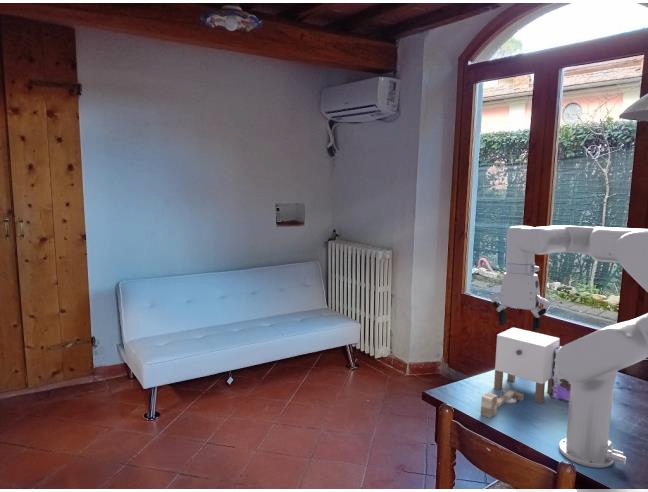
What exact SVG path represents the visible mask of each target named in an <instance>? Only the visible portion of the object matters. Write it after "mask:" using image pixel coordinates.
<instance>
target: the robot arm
mask: <svg viewBox="0 0 648 492" xmlns="http://www.w3.org/2000/svg"><path fill="white" fill-rule="evenodd" d="M505 253H506V256H505V257H506V260H505V261H506V262H505V263H506V264H505V270H506V271H505V272H504V273H503V275H502V281H501V287H500V291H498V292H496V293H493V294H491V295H490V296H489V299H490V301H491V303H492V305H493V306H494V308H495V309H496V311H497V312H498V314H497V315H498V319H497V320H498V323H499V324H498V325H499V326H503V325H506V324H507V310H505V309H506V308H512V309H520V310H527V311H530V312H531V313H532V315H533V317H532V328H531V329H532V332H537V331H539V330H540V328H541V326H542V325H541V324H542V316H543V315H545V314H546V313H547V312H548V311H549V309H550V307H551V306H552V302H550V301H549V300H548V299H546V298H544V297H542V296H541V291H540V282H539V276H538V274H537V273H536V272H540V266H537V265H536V262H535V256H536V255H538V256H540V255H548V254H549V255H550V254H556V253H571V254H581V255H588V256H590V257H591V258H592V259H593V260H594V261H598V262H605V263H615V264H620V265H621V267H622V268H623V269H624V270H625V271H626V273H627V274H628V275H630V276H631V278H633V280H635V282H637V283H638V285H640V286H641V287H642V288H643V289H644V290H645V291H646V293H648V228H631V227H630V228H629V227H608V226H581V225H580V226H578V225H561V224H559V225H558V224H557V225H548V226H547V225H546V226H536V227H534V226H531V225H530V226H529V225H514V226H513V225H512V226H509V228H507V230H506V252H505ZM498 298H499V299H500V301H498ZM541 304H542V305H543V307H542V309H540V308H539V307H540V306H541ZM647 358H648V312H647V313H645V314H642V315H640V316H638V317H636V318H633V319H632V318H631V319H630V320H625V321H622V322H621V321H620V322H618V323H614V324H611V325H608V326H607V325H606V326H605V327H602V328H600V329H597V330H595V331H594V332H590V333H589V334H587V335H584V336H582V337H579V338H577V339H575V340H573V341H570V342H569V343H565V345H563V346H561V348H560V349H559V350H558V352H557V354H556V357H555V365H556V368H557V370H558V372H559V373H560V375H561V376H563V377H564V378H565V379H567V380H569V381H571V389H570V400H569V402H568V411H567V412H568V414H567V423H566V425H567V426H566V437H565V438H563V439H561V440H560V441H559V443H558V447H559V448H558V450H559V451H560V453H561V454H562V455H563V456H564V457H565V458H566V459H568V460H570V461H571V462H573V463H575V464H579V465H582V466H585V467H590V468H595V469H596V468H598V469H601V468H603V469H604V468H607V467H610V466H612V465H613V463H614V461H615V462H617V463H618V464H621V465H626V463H627V456H625V455H624V451H621V450H620V449H619V450H618V449H615V448H614V447H612V444H613V443H612V441H611V440H609V437H610V436H609V435H610V426H611V417H612V407H613V405H612V404H613V396H614V389H615V383H616V378H617V375H618V373H619V372H618V371H621V370H624V369H625V368H628V367H631V366H633V365H635V364H637V363H639V362H641V361H644V360H645V359H647Z"/></svg>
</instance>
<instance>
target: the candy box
mask: <svg viewBox="0 0 648 492" xmlns="http://www.w3.org/2000/svg"><path fill="white" fill-rule="evenodd" d="M561 347H562V346H561V345H559V348H557V349H556V350H555V355H554V367H553V378H552V391H551V393H550V397H551V398H552V399H555V400H560V401H563V402H566V403H569V400H570V389H571V381H569V380H567V379H565V378H564V377H563V376H561V375H560V373H559V372H558V370H557V368H556V365H555V357H556V354H557V352H558V350H559V349H560V348H561Z"/></svg>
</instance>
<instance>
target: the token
mask: <svg viewBox="0 0 648 492" xmlns="http://www.w3.org/2000/svg"><path fill="white" fill-rule="evenodd" d="M502 395H504V393H502V394H500V397H501V396H502ZM517 401H518V400H517V397H516V396H512V397H511V398H509V399H508V400H506V401H505V402H503V403H505V404H510V405H514V404H516V403H517Z"/></svg>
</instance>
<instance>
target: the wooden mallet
mask: <svg viewBox="0 0 648 492" xmlns="http://www.w3.org/2000/svg"><path fill="white" fill-rule="evenodd" d="M503 391H504V392H503V394H504V395H502V394H501V395H502V396H501V395H500V396H501V397H498V395H497V394H494V393H492V392H486V393H484V394H483V395H482V396H481V403H480V404H481V406H480V416H482V417H486V418H489V419H491V418H493V417H494V416H496V415H497V410H498V409H497V408H498V407H499V406H500V405H502V404H503V403H504V402H505V401H506V400H508V399H509V398H511V397H512V396H516V397H517V401H520V402H522V401H524V395H525V394H524V393H521V392H519V391H515V390H513V389H509V388H504V389H503Z"/></svg>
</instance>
